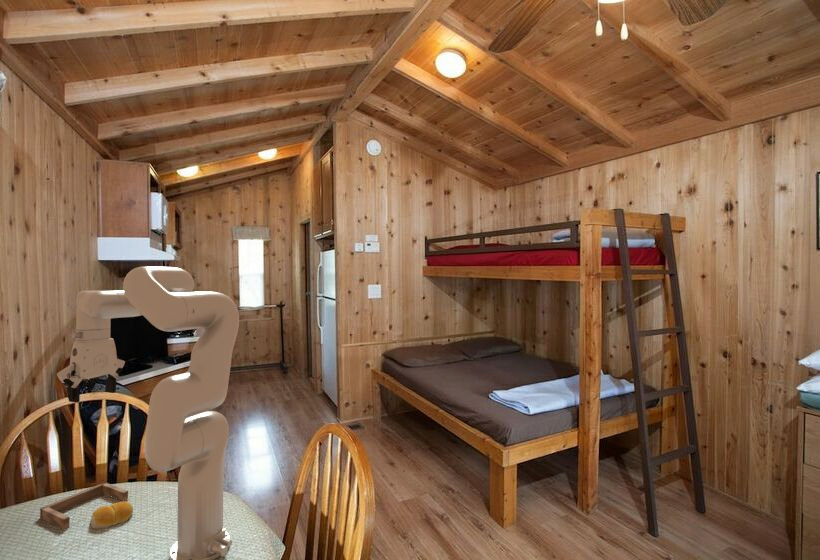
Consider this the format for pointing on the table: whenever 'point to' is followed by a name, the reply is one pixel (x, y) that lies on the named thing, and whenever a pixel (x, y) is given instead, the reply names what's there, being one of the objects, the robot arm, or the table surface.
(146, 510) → the table surface
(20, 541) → the table surface
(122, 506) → the bread roll
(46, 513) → the frame
